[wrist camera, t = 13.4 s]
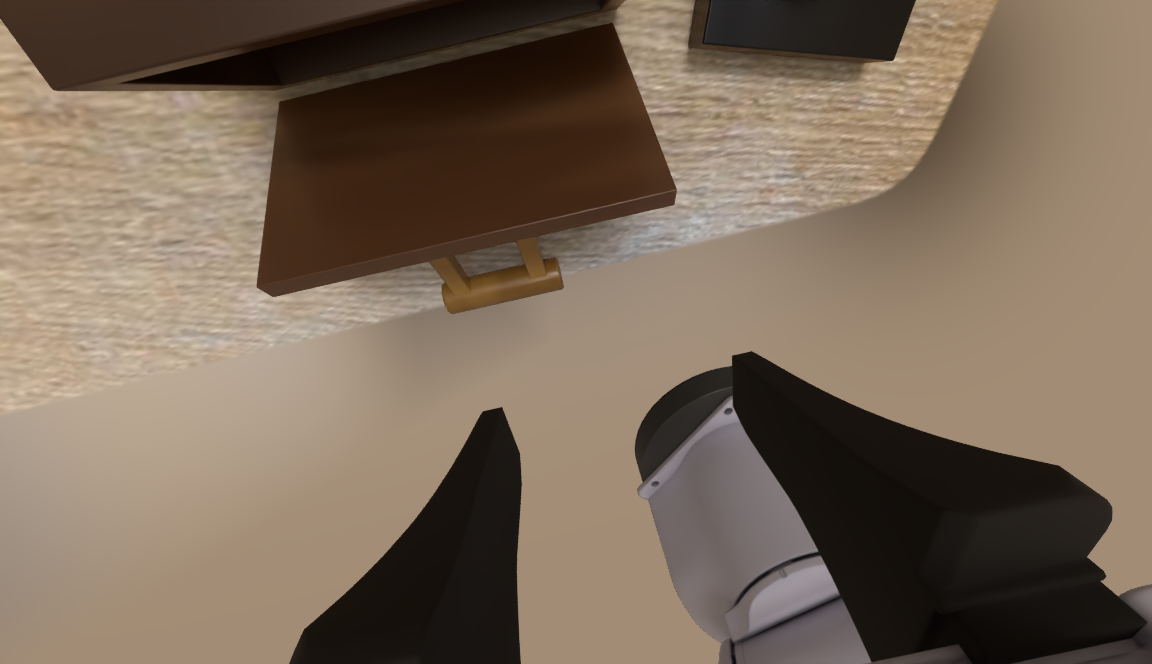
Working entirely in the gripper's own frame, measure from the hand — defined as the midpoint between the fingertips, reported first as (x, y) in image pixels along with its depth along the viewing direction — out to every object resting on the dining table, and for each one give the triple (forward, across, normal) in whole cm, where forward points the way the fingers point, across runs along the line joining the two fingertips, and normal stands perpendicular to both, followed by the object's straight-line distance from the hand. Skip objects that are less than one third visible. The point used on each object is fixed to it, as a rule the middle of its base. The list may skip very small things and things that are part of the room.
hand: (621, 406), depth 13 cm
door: (+11, +3, -8) cm, 14 cm away
